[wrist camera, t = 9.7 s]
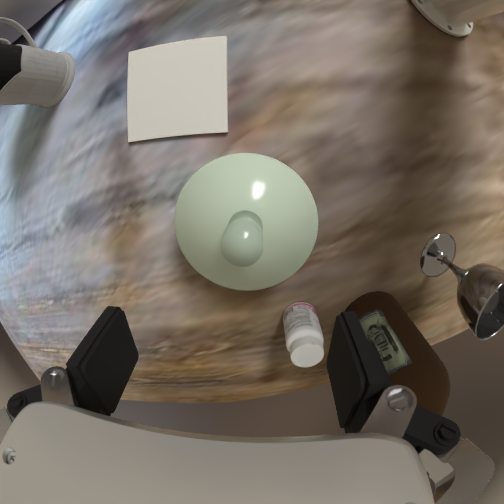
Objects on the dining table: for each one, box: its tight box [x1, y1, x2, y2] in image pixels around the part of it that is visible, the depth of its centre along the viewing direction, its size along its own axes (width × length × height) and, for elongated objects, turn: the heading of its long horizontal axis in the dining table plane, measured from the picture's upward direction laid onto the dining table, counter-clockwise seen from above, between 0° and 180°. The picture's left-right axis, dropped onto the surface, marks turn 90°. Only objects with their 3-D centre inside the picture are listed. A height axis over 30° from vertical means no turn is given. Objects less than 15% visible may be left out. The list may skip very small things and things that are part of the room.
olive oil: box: [345, 292, 450, 416], centre depth 26 cm, size 11×11×25 cm
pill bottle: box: [283, 302, 324, 367], centre depth 33 cm, size 5×5×8 cm
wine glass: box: [421, 233, 504, 340], centre depth 26 cm, size 8×8×15 cm
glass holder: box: [0, 17, 75, 107], centre depth 16 cm, size 9×14×15 cm, turn 13°
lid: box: [174, 153, 318, 290], centre depth 23 cm, size 14×14×6 cm
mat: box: [127, 36, 228, 142], centre depth 26 cm, size 12×12×1 cm
